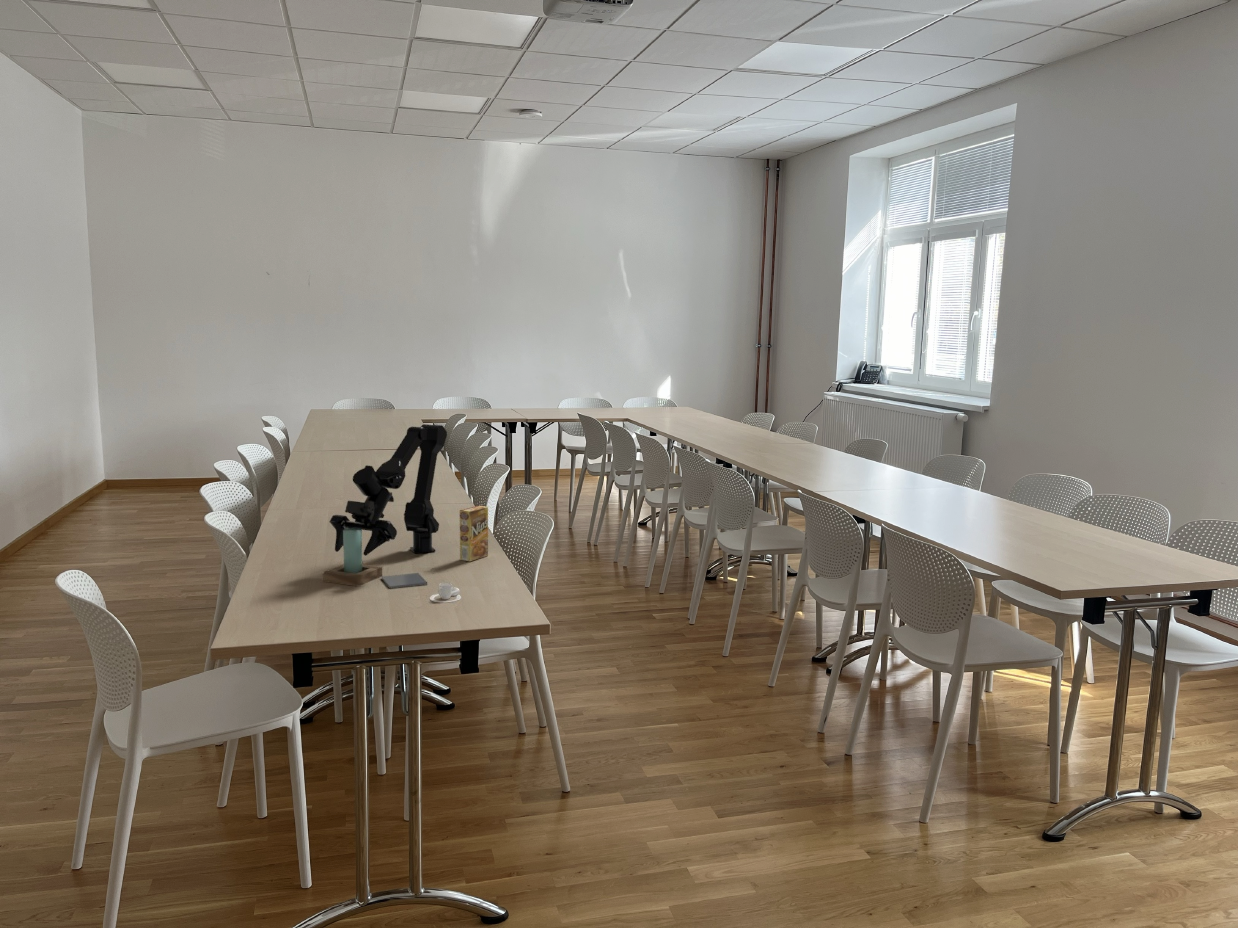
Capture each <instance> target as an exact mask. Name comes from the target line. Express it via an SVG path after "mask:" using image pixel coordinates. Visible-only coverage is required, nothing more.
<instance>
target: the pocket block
mask: <svg viewBox="0 0 1238 928" xmlns="http://www.w3.org/2000/svg"><path fill="white" fill-rule="evenodd" d="M322 574H323V575H322V577H323V582H327V583H335V584H340V585H349V586H352V587H353V586H354V587H359V586H360V587H361V585H365V584H366V583H369V582H372V581H373V580H376V579H378V578H382V576H383V566H378V565H368V564H363V563H362V572H359V573H357V574H353V573H346V572H344V564H341V565H339V566H336V567H334V568H331V569H328V570H326V571H323V573H322Z"/></svg>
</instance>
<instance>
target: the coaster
mask: <svg viewBox="0 0 1238 928" xmlns="http://www.w3.org/2000/svg"><path fill="white" fill-rule="evenodd" d="M381 580H382V581H383V582H384V583H385V585H386V586H387V587H388V588H389V589H390V590H391V589H398V588H399V589H400V588H407V587H409V588H410V587H417V586H426V585H428V581H427V580H426V579H424V577H423V576H422V575H421V574H420V573H419V572H415V573H414V572H413V573H405V574H403V573H402V574H396V575H395V574H394V575H384V576H383V575H382V576H381Z"/></svg>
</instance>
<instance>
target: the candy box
mask: <svg viewBox="0 0 1238 928" xmlns="http://www.w3.org/2000/svg"><path fill="white" fill-rule="evenodd" d="M488 556H489V507H488V506H483V505H476V506H471V507H469V508H468V507H467V508H464V509H460V510H459V560H460V561H467V562H472V561H475V560H479V559H481V558H486V557H488Z"/></svg>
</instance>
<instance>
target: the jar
mask: <svg viewBox="0 0 1238 928" xmlns="http://www.w3.org/2000/svg"><path fill="white" fill-rule="evenodd" d="M362 533H363V530H361V529H358V528H350V529H345V530H343V546H342V547H343V548H342V549H343V565H344V572H346V573H353V574H357V573H359V572H362V564H363V538H362Z"/></svg>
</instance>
